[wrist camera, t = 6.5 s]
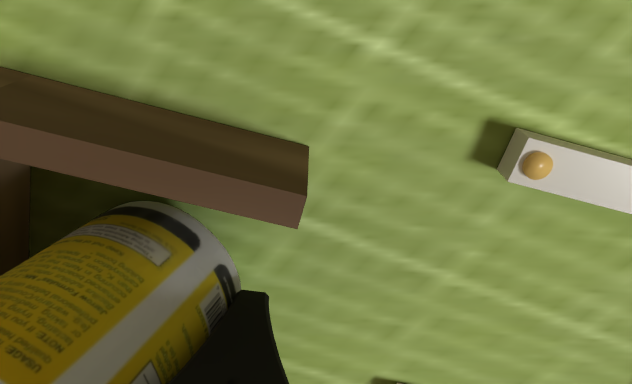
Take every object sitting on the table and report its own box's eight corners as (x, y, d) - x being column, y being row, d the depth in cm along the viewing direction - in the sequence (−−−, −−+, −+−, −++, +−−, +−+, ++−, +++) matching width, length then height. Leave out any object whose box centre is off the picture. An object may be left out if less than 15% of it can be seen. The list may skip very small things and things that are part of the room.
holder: (236, 401, 16) (221, 487, 14) (0, 356, 16) (-67, 438, 13) (308, 146, 13) (306, 196, 10) (-2, 66, 12) (-99, 96, 9)
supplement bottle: (67, 241, 14) (-389, 519, 7) (171, 164, 12) (-319, 444, 5) (166, 365, 15) (-141, 740, 7) (280, 313, 13) (15, 762, 5)
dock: (635, 456, 18) (650, 480, 17) (385, 406, 17) (389, 430, 16) (835, 215, 13) (869, 232, 13) (516, 127, 12) (530, 139, 11)
